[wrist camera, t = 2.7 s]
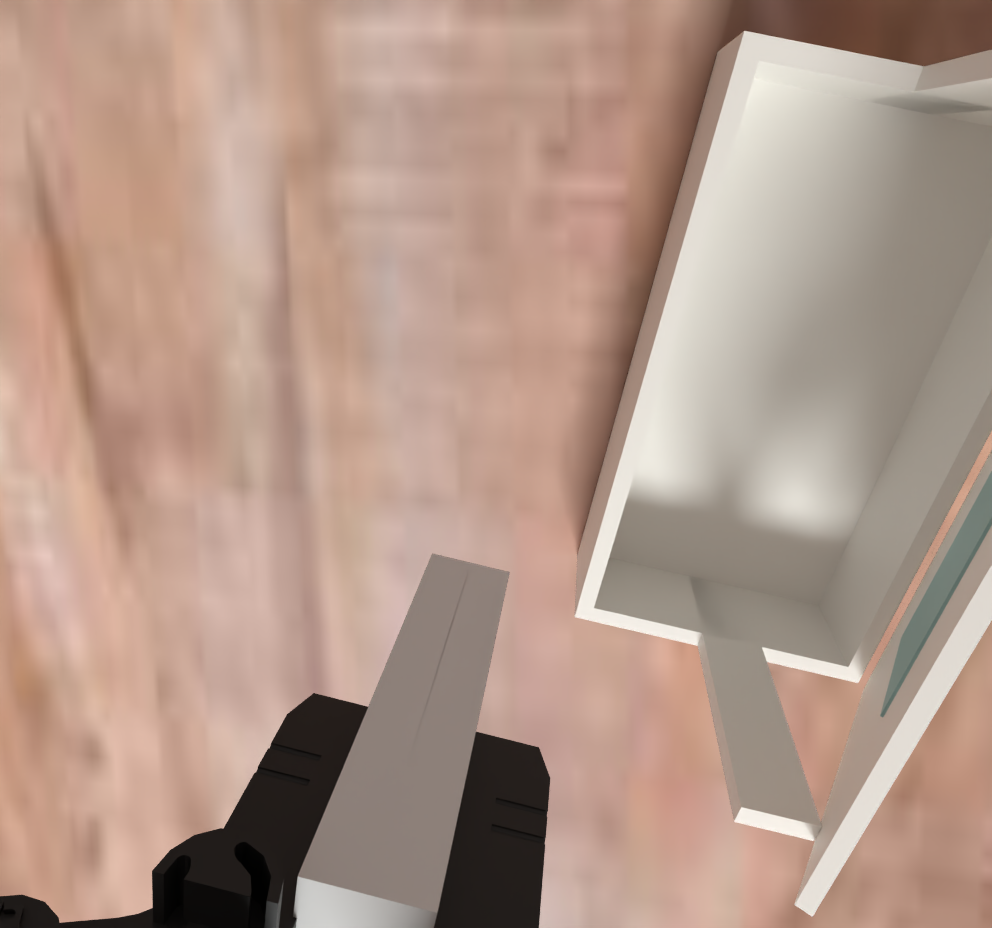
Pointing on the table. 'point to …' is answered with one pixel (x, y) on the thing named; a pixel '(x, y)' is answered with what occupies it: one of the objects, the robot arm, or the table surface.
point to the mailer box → (800, 384)
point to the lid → (908, 685)
